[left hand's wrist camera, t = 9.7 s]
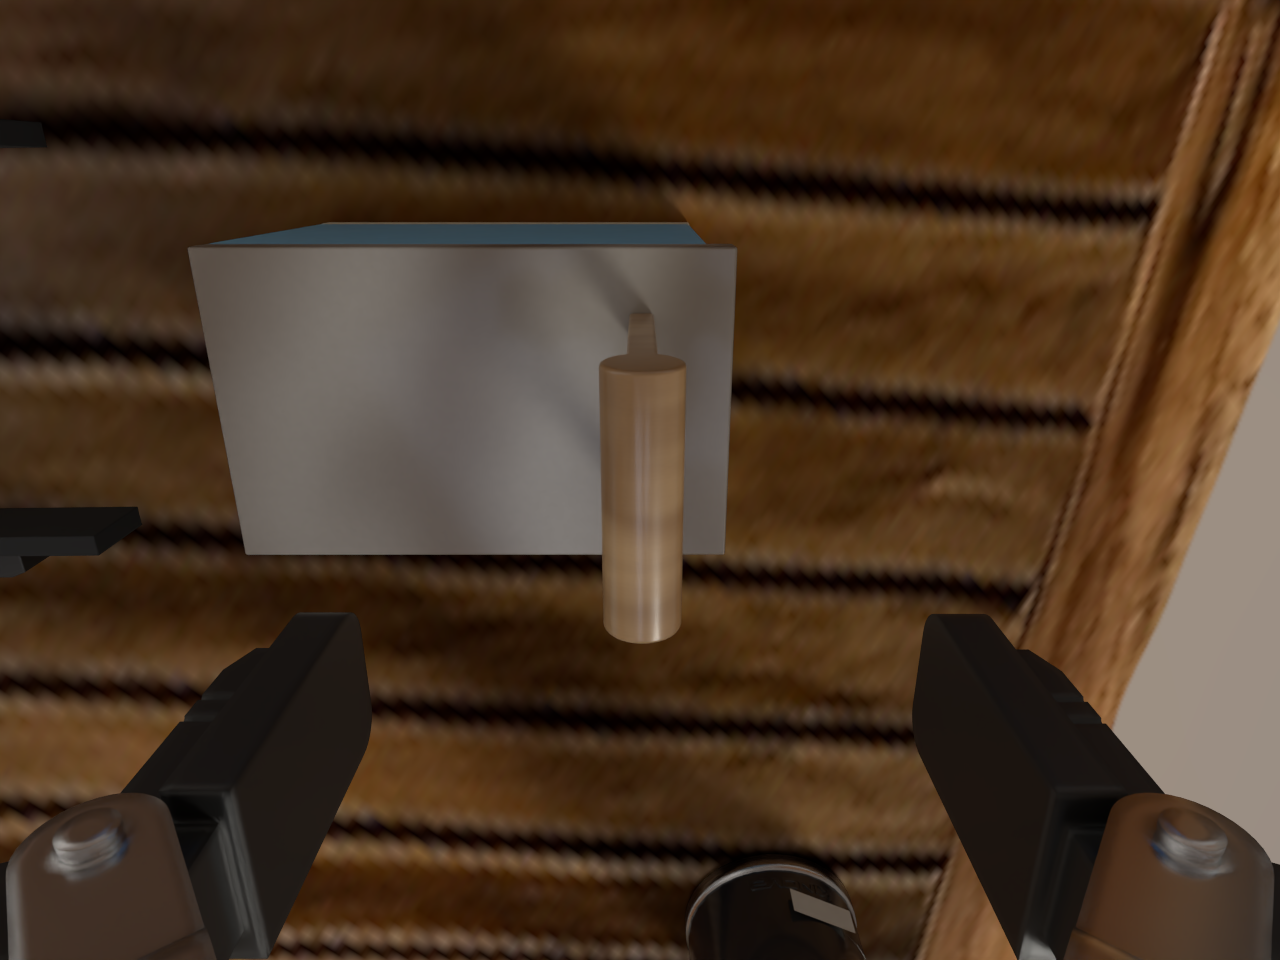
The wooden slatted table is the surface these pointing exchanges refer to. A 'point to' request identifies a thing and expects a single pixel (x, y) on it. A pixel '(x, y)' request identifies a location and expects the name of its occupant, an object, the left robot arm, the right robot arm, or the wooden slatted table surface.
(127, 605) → the wooden slatted table surface
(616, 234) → the chest
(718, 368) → the lid
